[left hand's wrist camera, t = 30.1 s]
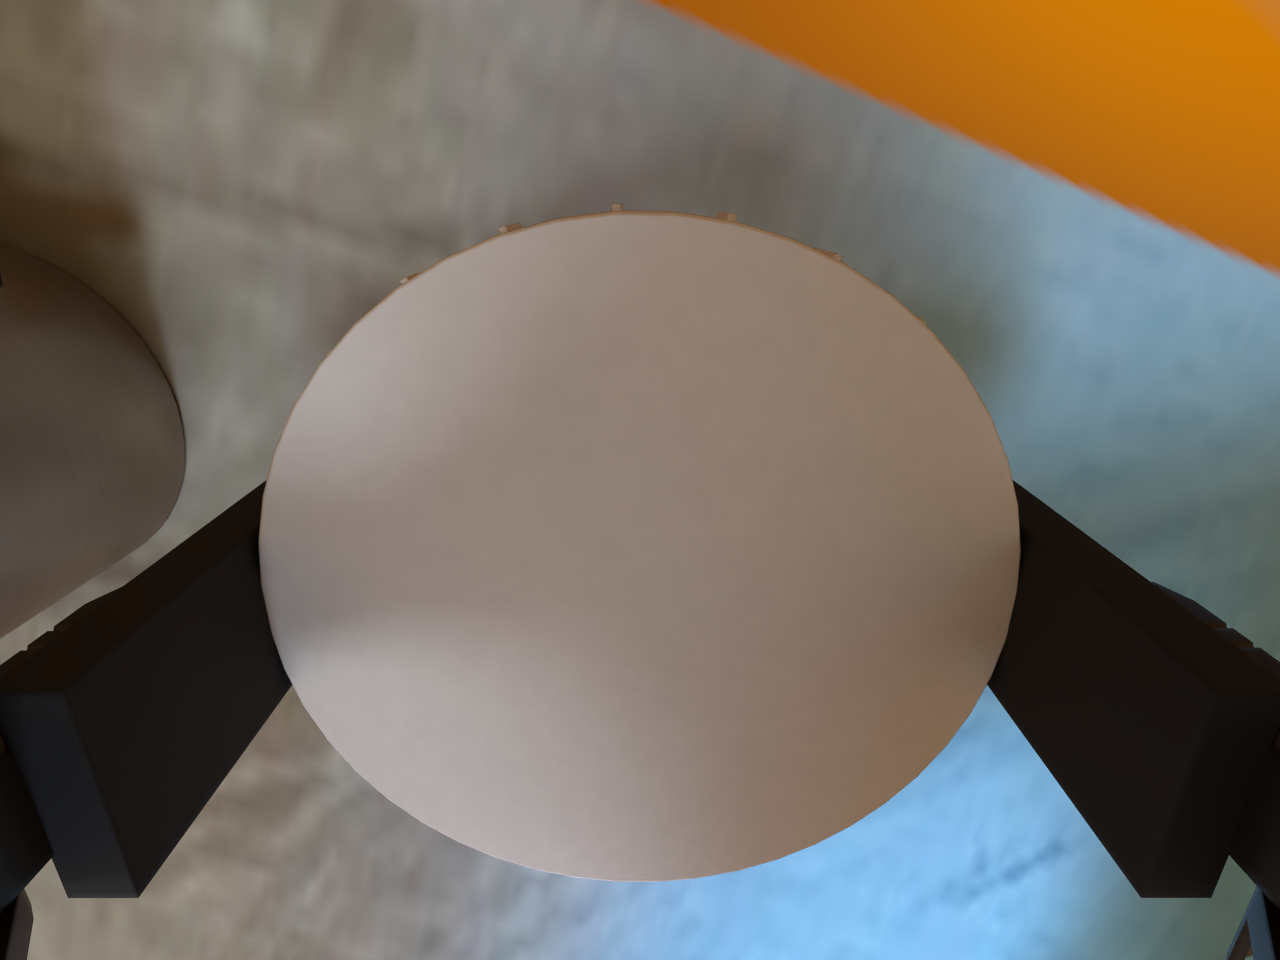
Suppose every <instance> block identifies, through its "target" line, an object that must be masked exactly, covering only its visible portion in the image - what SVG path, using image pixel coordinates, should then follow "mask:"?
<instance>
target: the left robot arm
mask: <svg viewBox="0 0 1280 960" xmlns="http://www.w3.org/2000/svg"><path fill="white" fill-rule="evenodd" d="M1012 481H1013V480H1012ZM266 482H267V480H266V481H265V482H263V483H262V484H261V485H259V486H258V487H257V488H255V489H254V490H253V491H251V492H250V493H249V494H247V495H246V496H244V497H243V498H242V499H240V500H239V501H238V502H236V503H235V504H234V505H232V506H231V507H230V508H228V509H227V510H226V511H224V512H223V513H222V514H220V515H219V516H217V517H216V518H215V519H213V520H212V521H211V522H209V523H208V524H207V525H205V526H204V527H203V528H201V529H200V530H199V531H197V532H196V533H195V534H193V535H192V536H190V537H189V538H188V539H186V540H185V541H184V542H182V543H181V544H180V545H178V546H177V547H176V548H174V549H173V550H172V551H170V552H169V553H168V554H166V555H165V556H163V557H162V558H161V559H159V560H158V561H157V562H155V563H154V564H153V565H151V566H150V567H149V568H147V569H146V570H145V571H143V572H142V573H141V574H139V575H138V576H136V577H135V578H134V579H132V580H131V581H130V582H128V583H127V584H126V585H124V586H123V587H121V588H118V589H116V590H114V591H112V592H110V593H108V594H106V595H103V596H101V597H99V598H97V599H95V600H93V601H91V602H88V603H86V604H85V605H83V606H82V607H80V608H79V609H78V610H76V611H75V612H73V613H72V614H71V615H69V616H68V617H67V618H65V619H64V620H62V621H61V622H60V623H58V624H57V625H55V626H54V631H47V632H46V633H44V634H43V635H42V636H40V637H39V638H37V639H36V640H35V641H33V642H32V643H31V644H29V645H28V648H27V651H19V652H18V653H17V654H15V655H14V656H13V657H11V658H10V659H8V660H7V661H6V662H4V663H3V664H1V665H0V960H27V955H28V949H29V943H30V937H31V931H32V925H33V913H32V907H31V903H30V901H29V898H28V896H27V894H26V892H25V889H24V888H25V887H26V886H27V884H28V883H29V882H30V881H31V880H32V879H33V878H34V877H35V876H36V874H37V873H38V872H39V871H40V870H41V869H42V868H43V867H44V865H45V864H46V863H47V862H48V861H49V860H50V859H51V858H52V860H53V862H54V865H55V867H56V870H57V872H58V874H59V877H60V879H61V882H62V884H63V886H64V889H65V891H66V894H67V896H68V898H138V897H139V896H140V895H141V893H142V892H143V891H144V889H145V888H146V886H147V885H148V884H149V882H150V881H151V879H152V878H153V877H154V875H155V874H156V873H157V871H158V870H159V868H160V867H161V866H162V864H163V863H164V861H165V860H166V859H167V857H168V856H169V855H170V853H171V852H172V850H173V849H174V848H175V846H176V845H177V843H178V842H179V841H180V839H181V838H182V837H183V835H184V834H185V832H186V831H187V830H188V828H189V827H190V825H191V824H192V823H193V821H194V820H195V819H196V817H197V816H198V814H199V813H200V812H201V810H202V809H203V807H204V806H205V805H206V803H207V802H208V801H209V799H210V798H211V796H212V795H213V794H214V792H215V791H216V789H217V788H218V787H219V785H220V784H221V783H222V781H223V780H224V778H225V777H226V776H227V774H228V773H229V771H230V770H231V769H232V767H233V766H234V765H235V763H236V762H237V760H238V759H239V758H240V756H241V755H242V753H243V752H244V751H245V749H246V748H247V747H248V745H249V744H250V742H251V741H252V740H253V738H254V737H255V735H256V734H257V733H258V731H259V730H260V729H261V727H262V726H263V724H264V723H265V722H266V720H267V719H268V717H269V716H270V715H271V713H272V712H273V711H274V709H275V708H276V706H277V705H278V704H279V702H280V701H281V699H282V698H283V697H284V695H285V694H286V693H287V691H288V690H289V688H290V687H291V686H292V682H291V680H290V679H289V677H288V675H287V673H286V671H285V669H284V666H283V664H282V661H281V658H280V655H279V653H278V650H277V647H276V644H275V642H274V639H273V635H272V631H271V627H270V623H269V618H268V614H267V609H266V605H265V600H264V596H263V591H262V586H261V578H260V561H259V544H258V542H259V531H260V520H261V509H262V498H263V493H264V489H265V485H266ZM1013 485H1014V490H1015V494H1016V499H1017V504H1018V514H1019V530H1020V546H1021V555H1020V566H1019V577H1018V587H1017V592H1016V597H1015V601H1014V606H1013V610H1012V614H1011V619H1010V623H1009V628H1008V632H1007V636H1006V640H1005V643H1004V645H1003V648H1002V651H1001V653H1000V656H999V658H998V661H997V663H996V666H995V668H994V671H993V673H992V676H991V678H990V680H989V681H988V683H987V685H988V686H989V688H990V689H991V690H992V692H993V693H994V695H995V696H996V697H997V699H998V700H999V702H1000V703H1001V704H1002V706H1003V707H1004V708H1005V710H1006V711H1007V713H1008V714H1009V715H1010V717H1011V718H1012V720H1013V721H1014V722H1015V724H1016V725H1017V726H1018V728H1019V729H1020V731H1021V732H1022V733H1023V735H1024V736H1025V738H1026V739H1027V740H1028V742H1029V743H1030V744H1031V746H1032V747H1033V749H1034V750H1035V751H1036V753H1037V754H1038V756H1039V757H1040V758H1041V760H1042V761H1043V762H1044V764H1045V765H1046V767H1047V768H1048V769H1049V771H1050V772H1051V774H1052V775H1053V776H1054V778H1055V779H1056V780H1057V782H1058V783H1059V785H1060V786H1061V787H1062V789H1063V790H1064V792H1065V793H1066V794H1067V796H1068V797H1069V798H1070V800H1071V801H1072V803H1073V804H1074V805H1075V807H1076V808H1077V810H1078V811H1079V812H1080V814H1081V815H1082V816H1083V818H1084V819H1085V821H1086V822H1087V823H1088V825H1089V826H1090V828H1091V829H1092V830H1093V832H1094V833H1095V834H1096V836H1097V837H1098V839H1099V840H1100V841H1101V843H1102V844H1103V846H1104V847H1105V848H1106V850H1107V851H1108V852H1109V854H1110V855H1111V857H1112V858H1113V859H1114V861H1115V862H1116V864H1117V865H1118V866H1119V868H1120V869H1121V870H1122V872H1123V873H1124V875H1125V876H1126V877H1127V879H1128V880H1129V882H1130V883H1131V884H1132V886H1133V887H1134V888H1135V890H1136V891H1137V893H1138V894H1139V895H1140V897H1141V898H1211V897H1212V894H1213V892H1214V890H1215V887H1216V885H1217V882H1218V880H1219V878H1220V875H1221V873H1222V870H1223V868H1224V866H1225V863H1226V861H1227V858H1228V856H1229V855H1230V856H1231V857H1232V859H1233V860H1234V861H1235V862H1236V863H1237V864H1238V865H1239V866H1240V867H1241V868H1242V870H1243V871H1244V872H1245V873H1246V874H1247V875H1248V876H1249V877H1250V878H1251V880H1252V881H1253V882H1254V883H1255V884H1256V885H1257V887H1256V889H1255V892H1254V894H1253V896H1252V898H1251V901H1250V903H1249V905H1248V907H1247V910H1246V912H1245V914H1244V916H1243V919H1242V921H1241V923H1240V925H1239V928H1238V930H1237V932H1236V934H1235V937H1234V939H1233V941H1232V943H1231V946H1230V948H1229V950H1228V952H1227V957H1226V960H1244V959H1245V957H1248V956H1250V955H1253V958H1254V960H1280V662H1279V661H1278V660H1276V659H1275V658H1273V657H1272V656H1271V655H1269V654H1268V653H1267V652H1265V651H1264V650H1262V649H1261V648H1254V647H1253V642H1251V641H1250V640H1248V639H1247V638H1246V637H1244V636H1243V635H1241V634H1240V633H1239V632H1237V631H1236V630H1234V629H1233V628H1227V627H1226V623H1225V622H1223V621H1222V620H1220V619H1219V618H1218V617H1216V616H1215V615H1213V614H1212V613H1211V612H1209V611H1208V610H1206V609H1205V608H1204V607H1202V606H1201V605H1199V604H1198V603H1197V602H1195V601H1193V600H1191V599H1189V598H1187V597H1185V596H1183V595H1180V594H1178V593H1176V592H1174V591H1172V590H1170V589H1167V588H1165V587H1163V586H1161V585H1159V584H1157V583H1155V582H1150V581H1148V580H1147V579H1146V578H1144V577H1143V576H1142V575H1140V574H1139V573H1138V572H1136V571H1135V570H1134V569H1132V568H1131V567H1129V566H1128V565H1127V564H1125V563H1124V562H1123V561H1121V560H1120V559H1119V558H1117V557H1116V556H1115V555H1113V554H1112V553H1111V552H1109V551H1108V550H1107V549H1105V548H1104V547H1102V546H1101V545H1100V544H1098V543H1097V542H1096V541H1094V540H1093V539H1092V538H1090V537H1089V536H1088V535H1086V534H1085V533H1084V532H1082V531H1081V530H1080V529H1078V528H1077V527H1075V526H1074V525H1073V524H1071V523H1070V522H1069V521H1067V520H1066V519H1065V518H1063V517H1062V516H1061V515H1059V514H1058V513H1057V512H1055V511H1054V510H1053V509H1051V508H1050V507H1048V506H1047V505H1046V504H1044V503H1043V502H1042V501H1040V500H1039V499H1038V498H1036V497H1035V496H1034V495H1032V494H1031V493H1030V492H1028V491H1027V490H1026V489H1024V488H1023V487H1022V486H1020V485H1019V484H1017V483H1016V482H1015V481H1013Z"/></svg>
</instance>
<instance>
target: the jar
mask: <svg viewBox="0 0 1280 960" xmlns="http://www.w3.org/2000/svg"><path fill="white" fill-rule="evenodd" d="M0 272H1V279H2V286H3V287H0V639H1V638H2V637H4V636H5V635H7V634H8V633H10V632H11V631H13V630H14V629H16V628H17V627H19V626H20V625H22V624H23V623H25V622H26V621H28V620H29V619H31V618H32V617H34V616H35V615H37V614H38V613H40V612H41V611H43V610H44V609H46V608H48V607H49V606H51V605H52V604H54V603H55V602H57V601H58V600H60V599H61V598H63V597H64V596H66V595H67V594H69V593H70V592H72V591H73V590H75V589H76V588H78V587H79V586H81V585H82V584H84V583H85V582H87V581H88V580H90V579H91V578H93V577H95V576H96V575H98V574H99V573H101V572H102V571H104V570H105V569H107V568H108V567H110V566H111V565H113V564H114V563H116V562H117V561H119V560H120V559H122V558H123V557H125V556H126V555H128V554H129V553H131V552H132V551H134V550H135V549H137V548H138V547H140V546H141V545H143V544H144V543H145V542H146V541H147V540H148V539H149V538H151V537H152V536H153V535H154V534H155V533H156V532H157V531H158V529H159V528H160V527H161V525H162V524H163V523H164V522H165V520H166V519H167V517H168V515H169V514H170V512H171V510H172V508H173V506H174V504H175V502H176V499H177V496H178V493H179V490H180V487H181V483H182V478H183V472H184V461H185V445H184V436H183V428H182V423H181V419H180V415H179V412H178V408H177V404H176V402H175V399H174V396H173V394H172V391H171V389H170V386H169V384H168V382H167V380H166V378H165V376H164V374H163V372H162V370H161V369H160V367H159V365H158V363H157V361H156V360H155V358H154V357H153V355H152V354H151V352H150V351H149V349H148V348H147V346H146V345H145V343H144V342H143V341H142V339H141V338H140V337H139V336H138V335H137V333H136V332H135V331H134V330H133V329H132V328H131V326H130V325H129V324H128V323H127V322H126V320H125V319H124V318H122V317H121V316H120V315H119V314H118V313H117V312H116V311H115V310H114V309H113V308H112V307H111V306H110V305H109V304H108V303H107V302H106V301H105V300H103V299H102V298H101V297H99V296H98V295H97V294H96V293H94V292H93V291H92V290H91V289H89V288H88V287H87V286H85V285H84V284H82V283H81V282H79V281H78V280H76V279H75V278H73V277H71V276H70V275H68V274H67V273H65V272H63V271H62V270H60V269H58V268H56V267H54V266H52V265H50V264H48V263H46V262H44V261H42V260H40V259H38V258H36V257H33V256H30V255H27V254H25V253H22V252H19V251H16V250H14V249H11V248H7V247H3V246H0Z"/></svg>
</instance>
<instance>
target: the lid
mask: <svg viewBox="0 0 1280 960" xmlns="http://www.w3.org/2000/svg"><path fill="white" fill-rule="evenodd" d="M736 217H737V215H735V214H730V213H722V212H718V216H717V218H712V217H705V216H699V215H692V214H686V213H679V212H673V211H627V210H623V205H622V204H612V211H610V212H602V213H595V214H587V215H579V216H571V217H565V218H559V219H554V220H551V221H547V222H543V223H540V224H536V225H532V226H529V227H525V228H522V225H521V224H514V225H508V226H503V227H501V228H498V231H499V233H500V235H497V236H494V237H492V238H490V239H487V240H485V241H483V242H481V243H478V244H476V245H474V246H471V247H469V248H467V249H465V250H462V251H460V252H458V253H455V254H453V255H451V256H448V257H446V258H444V259H442V260H441V261H439V262H438V263H436V264H434V265H433V266H431V267H430V268H428V269H426V270H425V271H423V272H420V273H417V274H414V275H411V276H408V277H405V278H404V279H402V280H401V281H400V283H401V284H402V285H401V286H399V287H397V288H396V289H395V290H394V291H392V292H391V293H390V294H389V295H388V296H386V297H385V298H384V299H383V300H382V301H381V302H379V303H378V304H377V305H376V306H375V307H374V308H372V309H371V310H370V311H369V312H368V313H366V314H365V315H364V316H363V317H362V318H361V319H359V320H358V321H357V322H356V323H355V324H354V325H353V326H352V327H351V328H350V330H349V331H348V332H347V333H346V334H345V335H344V336H343V338H342V339H341V340H340V341H339V342H338V343H337V345H336V346H335V347H334V348H333V349H332V350H330V351H329V353H328V354H327V356H326V357H325V358H324V360H323V361H322V362H321V363H320V364H319V366H318V368H317V369H316V371H315V372H314V374H313V376H312V377H311V379H310V380H309V382H308V384H307V385H306V387H305V388H304V390H303V392H302V393H301V395H300V396H299V398H298V400H297V401H296V403H295V404H294V406H293V408H292V410H291V413H290V415H289V417H288V420H287V422H286V425H285V427H284V429H283V432H282V434H281V436H280V439H279V441H278V443H277V446H276V448H275V450H274V454H273V458H272V462H271V466H270V470H269V474H268V478H267V482H266V485H265V489H264V493H263V498H262V509H261V520H260V531H259V542H258V544H259V561H260V578H261V586H262V591H263V596H264V600H265V605H266V609H267V614H268V618H269V623H270V627H271V631H272V635H273V639H274V642H275V644H276V647H277V650H278V653H279V655H280V658H281V661H282V664H283V666H284V669H285V671H286V673H287V675H288V677H289V679H290V680H291V682H292V684H293V686H294V688H295V690H296V692H297V694H298V696H299V697H300V699H301V701H302V703H303V705H304V707H305V708H306V710H307V711H308V713H309V714H310V715H311V717H312V718H313V720H314V721H315V722H316V724H317V725H318V727H319V728H320V729H321V731H322V732H323V734H324V735H325V737H326V738H327V739H328V741H329V742H330V743H331V744H332V745H333V746H334V747H335V748H336V750H337V751H338V752H339V753H340V754H341V755H342V756H343V757H344V758H345V759H346V761H347V762H348V763H349V764H350V765H351V766H352V767H353V768H354V769H355V770H356V771H357V772H358V773H359V774H360V775H361V776H362V777H363V778H365V779H366V780H367V781H368V782H369V783H370V784H371V785H373V786H374V787H375V788H376V789H377V790H378V791H380V792H381V793H382V794H383V795H384V796H385V797H386V798H388V799H389V800H390V801H392V802H393V803H395V804H396V805H398V806H399V807H401V808H402V809H404V810H405V811H406V812H408V813H409V814H411V815H412V816H414V817H415V818H417V819H418V820H419V821H421V822H423V823H424V824H426V825H428V826H430V827H432V828H434V829H436V830H437V831H439V832H441V833H443V834H445V835H447V836H448V837H450V838H452V839H454V840H456V841H458V842H460V843H462V844H465V845H467V846H470V847H472V848H474V849H477V850H479V851H482V852H484V853H486V854H489V855H491V856H494V857H496V858H500V859H503V860H506V861H509V862H513V863H516V864H519V865H523V866H526V867H529V868H532V869H536V870H541V871H546V872H551V873H556V874H561V875H566V876H571V877H577V878H587V879H597V880H606V881H623V882H660V881H671V880H683V879H694V878H701V877H707V876H712V875H718V874H723V873H729V872H734V871H739V870H742V869H746V868H749V867H753V866H756V865H760V864H763V863H767V862H770V861H774V860H777V859H780V858H782V857H785V856H787V855H790V854H792V853H795V852H797V851H800V850H802V849H805V848H807V847H810V846H813V845H815V844H817V843H819V842H821V841H823V840H825V839H827V838H829V837H830V836H832V835H834V834H836V833H838V832H840V831H842V830H844V829H846V828H848V827H850V826H852V825H853V824H855V823H856V822H858V821H859V820H861V819H862V818H864V817H865V816H867V815H868V814H870V813H871V812H873V811H874V810H876V809H877V808H879V807H880V806H882V805H883V804H885V803H886V802H887V801H889V800H890V799H891V798H892V797H893V796H895V795H896V794H897V793H898V792H899V791H901V790H902V789H903V788H904V787H905V786H907V785H908V784H909V783H910V782H911V781H913V780H914V779H915V778H916V777H917V776H918V775H919V774H920V773H921V772H922V771H923V770H924V769H925V768H926V767H927V766H928V765H929V764H930V763H931V762H932V761H933V760H934V759H935V757H936V756H937V755H938V754H939V753H940V752H941V751H942V750H943V749H944V748H945V747H946V746H947V744H948V743H949V742H950V740H951V739H952V738H953V736H954V735H955V734H956V732H957V731H958V730H959V728H960V727H961V726H962V724H963V723H964V721H965V720H966V719H967V717H968V716H969V715H970V713H971V712H972V710H973V708H974V706H975V705H976V703H977V701H978V699H979V697H980V696H981V694H982V692H983V690H984V689H985V687H986V685H987V683H988V681H989V680H990V678H991V676H992V673H993V671H994V668H995V666H996V663H997V661H998V658H999V656H1000V653H1001V651H1002V648H1003V645H1004V643H1005V640H1006V636H1007V632H1008V628H1009V623H1010V619H1011V614H1012V610H1013V606H1014V601H1015V597H1016V592H1017V587H1018V577H1019V566H1020V555H1021V546H1020V530H1019V514H1018V504H1017V499H1016V494H1015V490H1014V485H1013V481H1012V476H1011V472H1010V467H1009V463H1008V459H1007V456H1006V454H1005V451H1004V449H1003V446H1002V443H1001V441H1000V438H999V436H998V433H997V431H996V428H995V426H994V423H993V421H992V418H991V415H990V413H989V412H988V410H987V408H986V407H985V405H984V403H983V401H982V400H981V398H980V396H979V395H978V393H977V391H976V390H975V388H974V386H973V384H972V383H971V381H970V379H969V378H968V376H967V374H966V372H965V371H964V370H963V368H962V367H961V366H960V365H959V364H958V362H957V361H956V360H955V359H954V357H953V356H952V355H951V354H950V353H949V351H948V350H947V349H946V348H945V346H944V345H943V344H942V343H941V342H940V340H939V339H938V338H937V337H936V335H935V334H934V333H933V332H932V331H931V330H930V329H929V328H928V327H927V326H926V322H925V321H924V320H923V319H922V318H919V317H917V316H915V315H914V314H913V313H911V312H910V311H909V310H908V309H907V308H906V307H905V306H904V305H903V304H901V303H900V302H899V301H898V300H897V299H896V298H895V297H894V296H893V295H891V294H890V293H888V292H887V291H885V290H884V289H882V288H881V287H879V286H878V285H876V284H875V283H873V282H872V281H870V280H869V279H867V278H866V277H864V276H863V275H861V274H860V273H858V272H857V271H855V270H854V269H852V268H851V267H849V266H848V265H846V264H845V263H842V262H840V261H841V259H842V256H840V255H838V254H836V253H833V252H829V251H825V250H821V249H817V248H810V247H808V246H806V245H804V244H802V243H800V242H798V241H796V240H793V239H791V238H788V237H784V236H781V235H778V234H774V233H771V232H768V231H764V230H761V229H758V228H755V227H751V226H748V225H745V224H741V223H738V222H735V221H736Z"/></svg>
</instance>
